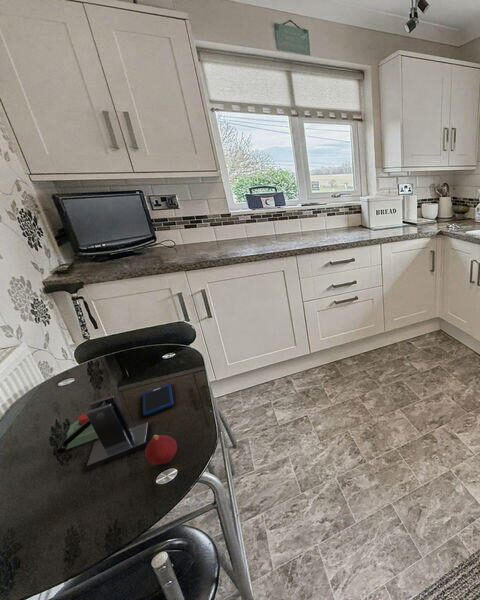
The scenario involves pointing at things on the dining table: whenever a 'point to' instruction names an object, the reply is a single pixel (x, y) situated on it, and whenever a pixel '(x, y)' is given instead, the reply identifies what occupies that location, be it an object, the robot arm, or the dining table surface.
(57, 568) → the dining table surface
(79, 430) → the press lever
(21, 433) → the dining table surface
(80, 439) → the button housing
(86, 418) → the red button
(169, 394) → the cell phone
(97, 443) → the lever bracket
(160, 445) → the onion
